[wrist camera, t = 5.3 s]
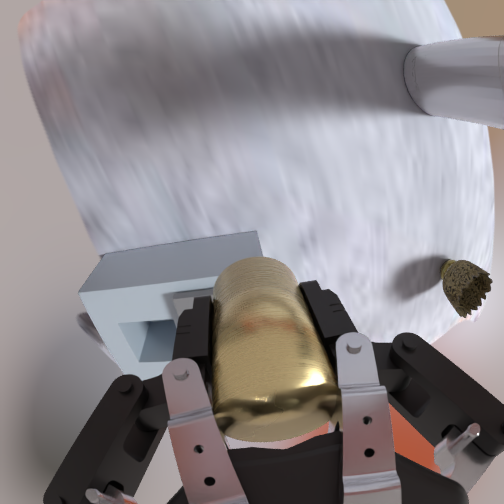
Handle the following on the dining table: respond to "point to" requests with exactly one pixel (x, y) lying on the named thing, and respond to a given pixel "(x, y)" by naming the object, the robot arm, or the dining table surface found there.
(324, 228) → the dining table surface
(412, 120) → the dining table surface
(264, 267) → the brass cylinder
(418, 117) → the dining table surface
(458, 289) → the cup
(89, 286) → the housing
